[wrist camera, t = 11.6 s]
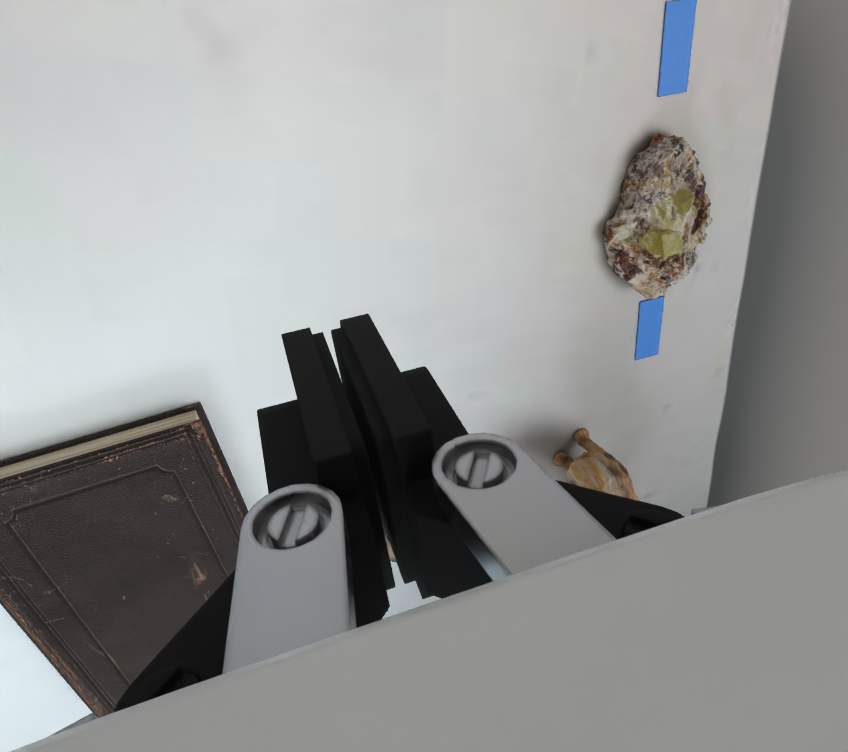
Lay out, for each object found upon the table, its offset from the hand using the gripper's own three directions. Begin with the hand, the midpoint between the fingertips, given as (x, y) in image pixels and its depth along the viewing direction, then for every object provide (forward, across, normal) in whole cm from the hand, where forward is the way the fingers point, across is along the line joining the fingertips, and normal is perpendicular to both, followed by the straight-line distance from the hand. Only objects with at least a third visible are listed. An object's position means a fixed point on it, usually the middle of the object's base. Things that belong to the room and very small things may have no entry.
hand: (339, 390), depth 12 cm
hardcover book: (+25, +14, +26) cm, 39 cm away
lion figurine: (+25, -20, +30) cm, 44 cm away
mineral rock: (+25, -25, +9) cm, 37 cm away
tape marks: (+25, -26, +8) cm, 37 cm away
